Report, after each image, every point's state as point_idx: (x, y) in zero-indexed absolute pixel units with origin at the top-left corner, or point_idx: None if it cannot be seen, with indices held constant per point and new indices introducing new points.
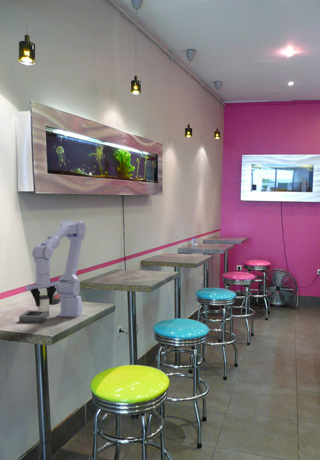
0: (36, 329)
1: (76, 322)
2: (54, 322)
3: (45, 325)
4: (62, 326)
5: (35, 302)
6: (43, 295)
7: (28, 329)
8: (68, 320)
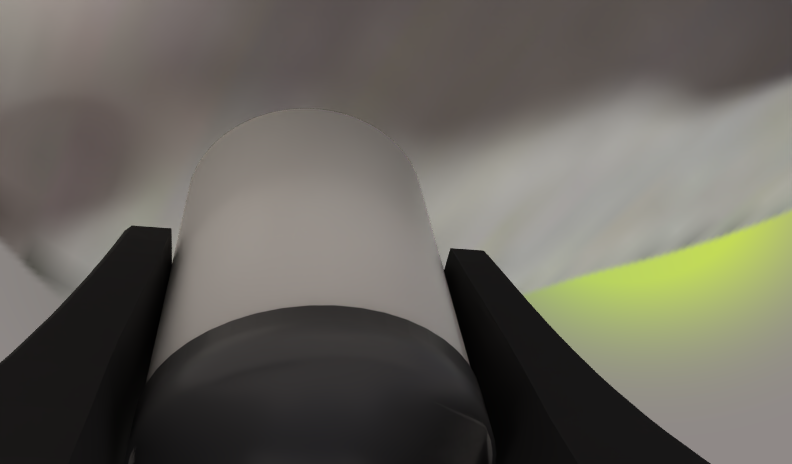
0: (136, 139)
1: (662, 228)
2: (507, 36)
3: (327, 69)
4: (455, 245)
5: (91, 281)
6: (382, 410)
7: (28, 59)
8: (685, 97)
